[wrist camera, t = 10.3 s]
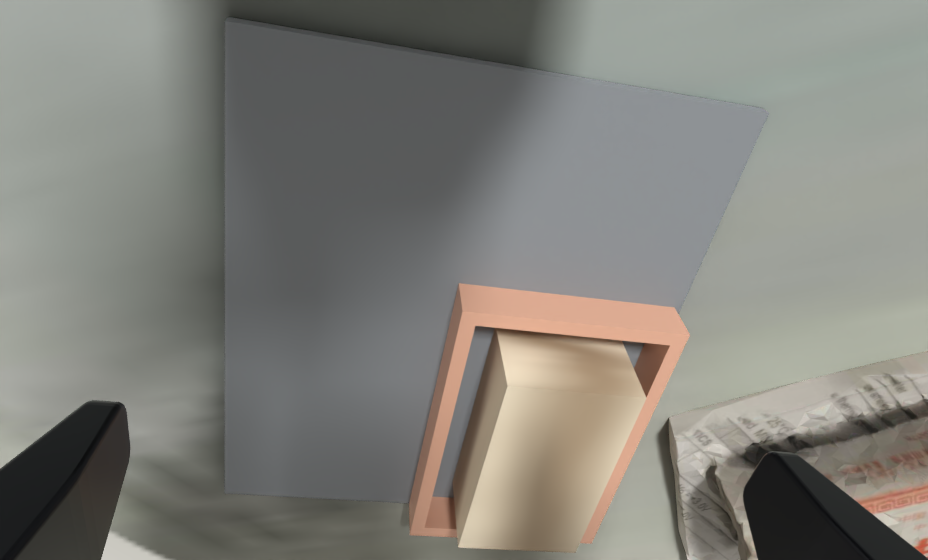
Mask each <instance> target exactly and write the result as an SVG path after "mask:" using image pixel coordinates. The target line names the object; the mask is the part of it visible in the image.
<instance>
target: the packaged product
mask: <svg viewBox="0 0 928 560" xmlns="http://www.w3.org/2000/svg"><path fill="white" fill-rule="evenodd" d="M669 442H670V453H671V459H672V464H673V470H674V479H675V491H676V503H677V515H678V527H679V533H680V536H681V539H682V542H683V546H684V549H685V552H686V556H687V559H688V560H738V559H741V560H758V558H757V555H756V551H755V547H754V543H753V539H752V535H751V531H750V527H749V523H748V519H747V515H746V511H745V507H744V503H743V490H744V487H745V485H746V483H747V481H748V480H749V478H750V476H751V475H752V473H753V472H754V470H755V468H756V467H757V465H758V464H759V462H760V460H761V459H762V457H763V456H764V455H765V454H766V453H768V452H771V451H776V452H789V453H794V454H797V455H799V456H800V457H801V458H803V459H804V460H805V461H806V462H808V463H809V464H810V465H811V466H813V467H814V468H815V469H816V470H818V471H819V472H820V473H822V474H823V475H824V476H825V477H827V478H828V479H829V480H830V481H832V482H833V483H834V484H835V485H837V486H838V487H839V488H840V489H842V490H843V491H844V492H845V493H847V494H848V495H849V496H850V497H852V498H853V499H854V500H855V501H857V502H858V503H859V504H860V505H862V506H863V507H864V508H865V509H867V510H868V511H869V512H870V513H872V514H873V515H874V516H875V517H877V518H878V519H879V520H880V521H882V522H883V523H884V524H886V525H887V526H888V527H889V528H891V529H892V530H893V531H894V532H896V533H897V534H898V535H899V536H901V537H902V538H903V539H904V540H906V541H907V542H908V543H909V544H911V545H912V546H913V547H914V548H916V549H917V550H918V551H919V552H921V553H922V554H923V555H924V556H926V557H927V558H928V351H926V352H921V353H917V354H913V355H908V356H904V357H900V358H895V359H891V360H886V361H882V362H877V363H873V364H869V365H865V366H861V367H857V368H853V369H848V370H844V371H840V372H836V373H832V374H828V375H824V376H820V377H816V378H812V379H807V380H804V381H800V382H796V383H792V384H789V385H785V386H781V387H777V388H773V389H770V390H766V391H762V392H758V393H755V394H751V395H747V396H743V397H739V398H736V399H732V400H728V401H724V402H721V403H717V404H713V405H709V406H706V407H702V408H698V409H694V410H690V411H687V412H683V413H680V414H677V415H674V416H671V417H669Z"/></svg>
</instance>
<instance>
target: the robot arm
mask: <svg viewBox="0 0 928 560" xmlns="http://www.w3.org/2000/svg"><path fill="white" fill-rule="evenodd" d="M129 457H130V440H129V430H128V421H127V412H126V408H125V406H124V405H123V404H122V403H120V402H110V401H97V400H92V401H89V402H86V403H85V404H83V405H82V406H81V407H79V408H78V409H77V410H75V411H74V412H73V413H71V414H70V415H69V416H68V417H66V418H65V419H64V420H62V421H61V422H60V423H59V424H57V425H56V426H55V427H53V428H52V429H51V430H50V431H48V432H47V433H46V434H44V435H43V436H42V437H41V438H39V439H38V440H37V441H35V442H34V443H33V444H32V445H30V446H29V447H28V448H26V449H25V450H24V451H23V452H21V453H20V454H19V455H17V456H16V457H15V458H14V459H12V460H11V461H10V462H8V463H7V464H6V465H5V466H3V467H2V468H1V469H0V560H101V557H102V554H103V550H104V547H105V543H106V540H107V537H108V533H109V530H110V526H111V523H112V519H113V516H114V512H115V509H116V505H117V502H118V498H119V495H120V491H121V488H122V484H123V481H124V477H125V474H126V470H127V467H128V463H129ZM743 503H744V507H745V511H746V515H747V519H748V523H749V527H750V531H751V535H752V539H753V543H754V547H755V551H756V555H757V558H758V560H928V558H927V557H926V556H924V555H923V554H922V553H921V552H919V551H918V550H917V549H916V548H914V547H913V546H912V545H911V544H909V543H908V542H907V541H906V540H904V539H903V538H902V537H901V536H899V535H898V534H897V533H896V532H894V531H893V530H892V529H891V528H889V527H888V526H887V525H886V524H884V523H883V522H882V521H880V520H879V519H878V518H877V517H875V516H874V515H873V514H872V513H870V512H869V511H868V510H867V509H865V508H864V507H863V506H862V505H860V504H859V503H858V502H857V501H855V500H854V499H853V498H852V497H850V496H849V495H848V494H847V493H845V492H844V491H843V490H842V489H840V488H839V487H838V486H837V485H835V484H834V483H833V482H832V481H830V480H829V479H828V478H827V477H825V476H824V475H823V474H822V473H820V472H819V471H818V470H816V469H815V468H814V467H813V466H811V465H810V464H809V463H808V462H806V461H805V460H804V459H803V458H801V457H800V456H799V455H797V454H794V453H789V452H776V451H771V452H768V453H766V454H765V455H764V456H763V457H762V459H761V460H760V462H759V464H758V465H757V467H756V468H755V470H754V472H753V473H752V475H751V476H750V478H749V480H748V481H747V483H746V485H745V487H744V490H743Z"/></svg>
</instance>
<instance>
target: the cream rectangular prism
mask: <svg viewBox="0 0 928 560" xmlns="http://www.w3.org/2000/svg"><path fill="white" fill-rule="evenodd" d="M645 400H646V396H645V394H644V391H643V389H642V387H641V384H640V382H639V380H638V377H637V375H636V373H635V370H634V368H633V366H632V363H631V361H630V359H629V356H628V354H627V352H626V349H625V347H624V345H623V342H622V341H621V340H612V339H602V338H592V337H582V336H572V335H562V334H552V333H543V332H533V331H523V330H513V329H503V328H495V329H494V332H493V336H492V340H491V343H490V347H489V350H488V354H487V358H486V361H485V365H484V369H483V372H482V376H481V380H480V383H479V387H478V390H477V394H476V398H475V401H474V405H473V409H472V412H471V416H470V420H469V423H468V427H467V431H466V434H465V438H464V441H463V445H462V449H461V452H460V456H459V460H458V463H457V467H456V471H455V474H454V478H453V493H454V505H455V516H456V528H457V539H458V548H479V549H502V550H524V551H547V552H569V553H576V550H577V548H578V546H579V544H580V542H581V540H582V537H583V535H584V533H585V531H586V529H587V527H588V524H589V522H590V520H591V518H592V516H593V513H594V511H595V509H596V507H597V505H598V503H599V500H600V498H601V496H602V494H603V492H604V490H605V487H606V485H607V483H608V481H609V479H610V477H611V474H612V472H613V470H614V468H615V466H616V463H617V461H618V459H619V457H620V455H621V453H622V450H623V448H624V446H625V444H626V442H627V440H628V437H629V435H630V433H631V431H632V429H633V427H634V424H635V422H636V420H637V418H638V416H639V413H640V411H641V409H642V407H643V405H644V403H645Z"/></svg>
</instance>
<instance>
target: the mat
mask: <svg viewBox="0 0 928 560" xmlns="http://www.w3.org/2000/svg"><path fill="white" fill-rule="evenodd" d="M768 115H769V113H768V112H767V111H766V110H765V109H763V108H759V107H753V106H747V105H741V104H736V103H730V102H724V101H718V100H712V99H706V98H700V97H695V96H689V95H683V94H677V93H671V92H665V91H659V90H654V89H648V88H642V87H636V86H630V85H624V84H618V83H613V82H607V81H601V80H595V79H589V78H583V77H577V76H572V75H566V74H560V73H554V72H548V71H542V70H536V69H531V68H525V67H519V66H513V65H507V64H501V63H495V62H490V61H484V60H478V59H472V58H466V57H460V56H454V55H449V54H443V53H437V52H431V51H425V50H419V49H413V48H408V47H402V46H396V45H390V44H384V43H378V42H372V41H367V40H361V39H355V38H349V37H343V36H337V35H331V34H326V33H320V32H314V31H308V30H302V29H296V28H290V27H285V26H279V25H273V24H267V23H261V22H255V21H249V20H244V19H238V18H232V17H228V18H227V19H226V20H225V493H228V494H246V495H265V496H283V497H301V498H320V499H338V500H357V501H375V502H394V503H409V501H410V497H411V493H412V488H413V484H414V479H415V475H416V470H417V466H418V462H419V457H420V453H421V448H422V444H423V439H424V435H425V431H426V426H427V422H428V417H429V413H430V409H431V404H432V400H433V395H434V391H435V386H436V382H437V378H438V373H439V369H440V364H441V360H442V355H443V351H444V347H445V342H446V338H447V333H448V329H449V324H450V320H451V316H452V311H453V307H454V302H455V298H456V294H457V289H458V285H459V283H461V284H470V285H479V286H488V287H497V288H506V289H515V290H524V291H533V292H542V293H550V294H559V295H568V296H577V297H586V298H595V299H604V300H613V301H622V302H631V303H640V304H649V305H658V306H667V307H674V308H675V309H676V311H677V313H678V314H679V312H680V310H681V307H682V305H683V303H684V301H685V299H686V296H687V294H688V292H689V290H690V287H691V285H692V283H693V281H694V279H695V276H696V274H697V272H698V270H699V268H700V265H701V263H702V261H703V259H704V256H705V254H706V252H707V250H708V248H709V245H710V243H711V241H712V239H713V237H714V234H715V232H716V230H717V228H718V225H719V223H720V221H721V219H722V217H723V214H724V212H725V210H726V208H727V205H728V203H729V201H730V199H731V197H732V194H733V192H734V190H735V188H736V186H737V183H738V181H739V179H740V177H741V174H742V172H743V170H744V168H745V166H746V163H747V161H748V159H749V157H750V154H751V152H752V150H753V148H754V146H755V143H756V141H757V139H758V137H759V135H760V132H761V130H762V128H763V126H764V123H765V121H766V119H767V117H768ZM494 329H495V328H493V327H483V326H475V329H474V333H473V337H472V341H471V345H470V349H469V353H468V357H467V361H466V365H465V369H464V373H463V377H462V381H461V385H460V389H459V393H458V397H457V401H456V405H455V409H454V413H453V417H452V420H451V424H450V428H449V432H448V436H447V440H446V444H445V448H444V452H443V456H442V460H441V464H440V468H439V472H438V476H437V480H436V484H435V488H434V492H433V496H432V497H449V498H454V493H453V478H454V474H455V471H456V467H457V463H458V460H459V456H460V452H461V449H462V445H463V441H464V438H465V434H466V431H467V427H468V423H469V420H470V416H471V412H472V409H473V405H474V401H475V398H476V394H477V390H478V387H479V383H480V380H481V376H482V372H483V369H484V365H485V361H486V358H487V354H488V350H489V347H490V343H491V340H492V336H493V332H494ZM622 342H623V345H624V347H625V349H626V352H627V354H628V356H629V359H630V361H631V363H632V366H633V368H634V367H635V365H636V362H637V360H638V358H639V355H640V353H641V351H642V348H643V346H644V344H645V343H641V342H631V341H622Z"/></svg>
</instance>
